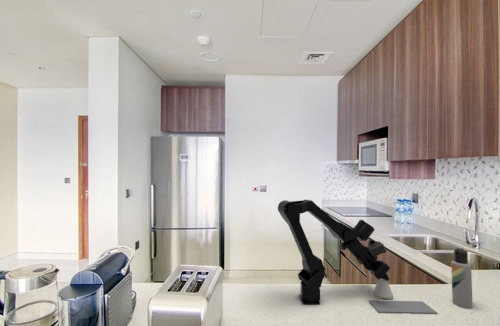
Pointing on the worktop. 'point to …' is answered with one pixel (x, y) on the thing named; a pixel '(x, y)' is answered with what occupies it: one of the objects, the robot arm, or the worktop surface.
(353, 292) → the worktop surface
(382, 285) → the flask
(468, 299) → the lotion bottle
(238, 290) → the worktop surface
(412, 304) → the charcoal mat
